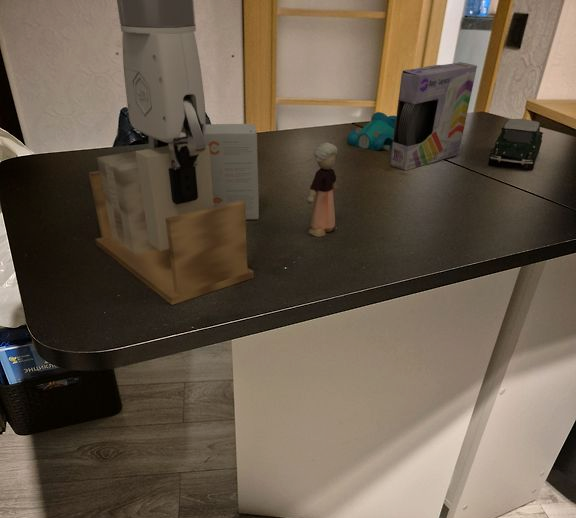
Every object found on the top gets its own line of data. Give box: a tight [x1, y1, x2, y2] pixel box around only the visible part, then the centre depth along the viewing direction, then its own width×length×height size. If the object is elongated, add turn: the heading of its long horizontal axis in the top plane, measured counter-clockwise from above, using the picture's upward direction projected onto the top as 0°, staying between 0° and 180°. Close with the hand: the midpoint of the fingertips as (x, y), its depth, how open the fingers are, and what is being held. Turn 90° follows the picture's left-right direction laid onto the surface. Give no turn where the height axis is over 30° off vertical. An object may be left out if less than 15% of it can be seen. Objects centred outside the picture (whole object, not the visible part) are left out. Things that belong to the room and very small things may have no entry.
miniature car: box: [487, 118, 544, 171], centre depth 115 cm, size 9×18×8 cm, turn 155°
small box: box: [203, 123, 260, 221], centre depth 84 cm, size 8×6×13 cm
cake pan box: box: [389, 61, 478, 171], centre depth 110 cm, size 19×5×18 cm, turn 129°
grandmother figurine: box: [306, 142, 338, 238], centre depth 79 cm, size 8×4×13 cm, turn 158°
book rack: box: [88, 150, 255, 306], centre depth 70 cm, size 12×22×12 cm, turn 39°
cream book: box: [135, 144, 214, 251], centre depth 66 cm, size 8×3×11 cm, turn 129°
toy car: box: [346, 111, 396, 152], centre depth 126 cm, size 11×18×7 cm, turn 137°
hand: (177, 195), depth 65 cm, fingers closed on cream book, 3 cm apart
